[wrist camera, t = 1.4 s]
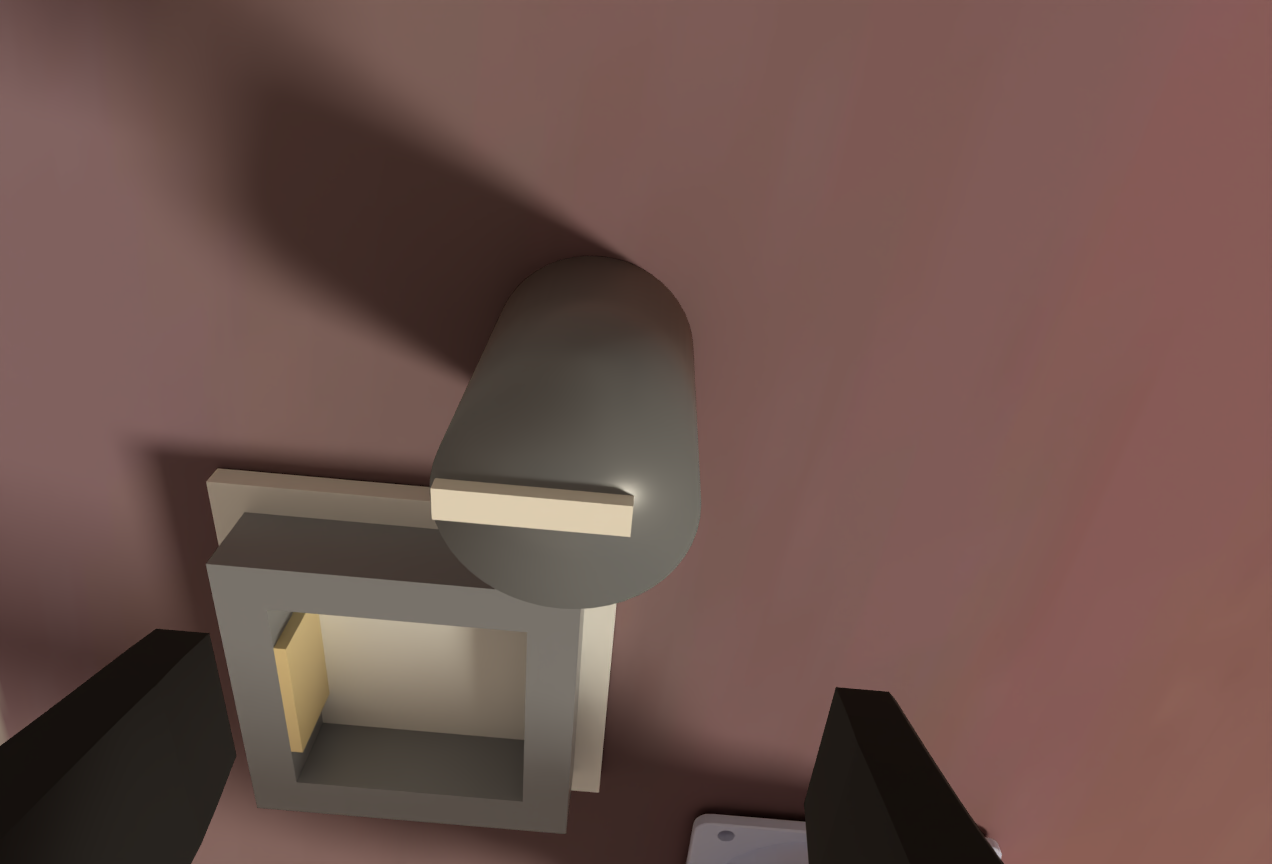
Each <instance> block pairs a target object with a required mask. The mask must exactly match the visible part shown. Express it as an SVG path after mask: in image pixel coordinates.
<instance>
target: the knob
mask: <svg viewBox="0 0 1272 864" xmlns="http://www.w3.org/2000/svg"><path fill="white" fill-rule="evenodd" d="M430 501H431V512H432V520H435V522H436V525H437V527H438V529H439V531H440V534H441V536H442V538H443V539H444V541H445V542H446V544H447V546H448V547H449V549H450V550H451V551H452V553H453V554H454V555H455V556H456V558H457V559H458V560H459V561H460V562H461V563H462V564H463V565H464V566H465V567H466V568H467V569H468V570H469V571H470V572H471V573H473V574H474V575H475V576H477V577H478V578H479V579H481V580H482V581H483V582H485V583H486V584H488V585H490V586H491V587H493V588H495V589H496V590H498V591H500V592H502V593H505V594H507V595H509V596H511V597H513V598H516V599H519V600H522V601H525V602H528V603H532V604H536V605H540V606H545V607H552V608H559V609H587V608H596V607H602V606H608V605H612V604H615V603H619V602H623V601H625V600H628V599H630V598H633V597H635V596H638V595H640V594H642V593H643V592H645V591H647V590H649V589H651V588H652V587H654V586H655V585H656V584H658V583H659V582H661V581H662V580H663V579H665V578H666V577H667V576H668V575H669V574H670V573H671V572H672V571H673V570H674V569H675V568H676V567H677V566H678V564H679V563H680V562H681V561H682V559H683V558H684V557H685V555H686V553H687V552H688V550H689V548H690V546H691V545H692V542H693V540H694V537H695V535H696V532H697V529H698V524H699V520H700V511H701V491H700V471H699V451H698V431H697V411H696V391H695V371H694V351H693V339H692V333H691V329H690V325H689V322H688V320H687V317H686V315H685V312H684V311H683V309H682V307H681V305H680V304H679V302H678V301H677V299H676V298H675V297H674V295H673V294H672V293H671V291H670V290H669V289H668V288H667V287H666V286H665V285H664V284H663V283H662V282H660V281H659V280H658V279H657V278H655V277H654V276H653V275H651V274H650V273H648V272H646V271H645V270H643V269H641V268H640V267H637V266H635V265H633V264H630V263H628V262H625V261H621V260H618V259H614V258H608V257H602V256H580V257H572V258H568V259H563V260H559V261H557V262H554V263H552V264H549V265H547V266H545V267H543V268H541V269H539V270H537V271H536V272H534V273H533V274H532V275H530V276H529V277H528V278H526V279H525V280H524V281H523V282H522V283H521V284H520V285H519V286H518V287H517V288H516V289H515V291H514V292H513V293H512V295H511V296H510V297H509V299H508V301H507V303H506V304H505V306H504V308H503V310H502V312H501V314H500V317H499V319H498V321H497V323H496V325H495V327H494V330H493V332H492V334H491V336H490V338H489V340H488V343H487V345H486V347H485V349H484V351H483V353H482V356H481V358H480V360H479V362H478V364H477V366H476V369H475V371H474V373H473V375H472V377H471V379H470V382H469V384H468V386H467V388H466V390H465V392H464V395H463V397H462V399H461V401H460V403H459V405H458V408H457V410H456V412H455V414H454V416H453V418H452V421H451V423H450V425H449V427H448V429H447V431H446V434H445V436H444V438H443V440H442V442H441V444H440V447H439V449H438V451H437V454H436V457H435V459H434V462H433V466H432V471H431V476H430Z"/></svg>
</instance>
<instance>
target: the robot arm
mask: <svg viewBox="0 0 1272 864" xmlns="http://www.w3.org/2000/svg"><path fill="white" fill-rule="evenodd" d="M235 758H236V751H235V747H234V742H233V738H232V733H231V729H230V724H229V720H228V715H227V711H226V706H225V702H224V697H223V693H222V688H221V684H220V679H219V675H218V670H217V666H216V661H215V657H214V652H213V648H212V643H211V639H210V634H209V633H199V632H187V631H176V630H164V629H155V630H154V631H153V632H151V633H150V634H148V635H147V636H146V637H144V638H143V639H142V640H140V641H139V642H137V643H136V644H135V645H133V646H132V647H131V648H129V649H128V650H127V651H125V652H124V653H123V654H121V655H120V656H119V657H117V658H116V659H115V660H113V661H112V662H111V663H110V664H108V665H107V666H106V667H104V668H103V669H102V670H100V671H99V672H98V673H96V674H95V675H94V676H92V677H91V678H90V679H89V680H87V681H86V682H85V683H83V684H82V685H81V686H79V687H78V688H77V689H75V690H74V691H73V692H72V693H70V694H69V695H68V696H66V697H65V698H64V699H62V700H61V701H60V702H58V703H57V704H56V705H54V706H53V707H52V708H50V709H49V710H48V711H47V712H45V713H44V714H43V715H41V716H40V717H39V718H37V719H36V720H35V721H33V722H32V723H30V724H29V725H28V726H26V727H25V728H24V729H22V730H21V731H20V732H18V733H17V734H16V735H14V736H13V737H12V738H10V739H9V740H8V741H6V742H5V743H4V744H2V745H1V746H0V864H191V863H192V861H193V859H194V857H195V855H196V853H197V851H198V849H199V847H200V845H201V843H202V841H203V838H204V836H205V834H206V831H207V829H208V826H209V824H210V822H211V819H212V817H213V814H214V812H215V809H216V807H217V805H218V802H219V799H220V797H221V794H222V792H223V789H224V786H225V784H226V781H227V779H228V776H229V773H230V771H231V768H232V765H233V763H234V760H235ZM804 809H805V822H803V821H791V820H780V819H768V818H756V817H745V816H733V815H721V814H704V815H700V816H699V817H698V818H696V819H695V821H694V823H693V828H692V833H691V839H690V845H689V850H688V856H687V861H686V864H1004V863H1003V862H1002V860H1001V855H1002V854H1001V851H1000V848H999V845H998V843H997V842H996V841H995V840H993V839H991V838H987V837H985V836H984V835H983V833H982V832H981V831H980V829H979V828H978V826H977V825H976V823H975V822H974V820H973V819H972V817H971V816H970V815H969V813H968V812H967V810H966V809H965V807H964V806H963V804H962V803H961V801H960V800H959V798H958V797H957V795H956V794H955V792H954V791H953V789H952V788H951V786H950V785H949V783H948V782H947V780H946V778H945V777H944V775H943V774H942V772H941V771H940V769H939V768H938V766H937V765H936V763H935V762H934V760H933V758H932V757H931V755H930V754H929V752H928V751H927V749H926V748H925V746H924V744H923V743H922V741H921V740H920V738H919V737H918V735H917V733H916V732H915V730H914V729H913V727H912V725H911V724H910V722H909V721H908V719H907V717H906V716H905V714H904V713H903V711H902V709H901V708H900V706H899V705H898V703H897V701H896V700H895V699H894V698H893V696H892V695H891V694H890V693H889V692H884V691H873V690H861V689H849V688H838V687H836V689H835V693H834V696H833V700H832V704H831V707H830V711H829V715H828V718H827V722H826V725H825V729H824V733H823V736H822V740H821V744H820V747H819V751H818V755H817V758H816V762H815V766H814V769H813V773H812V777H811V780H810V784H809V787H808V791H807V795H806V798H805V802H804Z"/></svg>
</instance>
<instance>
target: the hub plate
mask: <svg viewBox="0 0 1272 864" xmlns="http://www.w3.org/2000/svg"><path fill="white" fill-rule="evenodd" d="M206 484H207V489H208V494H209V499H210V504H211V509H212V514H213V519H214V524H215V529H216V534H217V539H218V544H219V547H218V548H217V550H216V551H215V552H214V554H213V555H212V556H211V558H210V559H209V560H208V562H207V563H206V567H207V572H208V577H209V582H210V586H211V591H212V596H213V601H214V605H215V610H216V615H217V619H218V624H219V629H220V634H221V638H222V643H223V648H224V653H225V657H226V662H227V667H228V671H229V676H230V681H231V686H232V690H233V695H234V700H235V705H236V709H237V714H238V719H239V723H240V728H241V733H242V738H243V742H244V747H245V752H246V757H247V761H248V766H249V771H250V775H251V780H252V785H253V790H254V794H255V799H256V804H257V808H266V809H277V810H289V811H301V812H313V813H324V814H336V815H348V816H359V817H371V818H383V819H395V820H406V821H418V822H430V823H442V824H453V825H465V826H477V827H489V828H500V829H512V830H524V831H535V832H547V833H559V834H566V830H567V821H568V813H569V804H570V796H571V790H573V791H585V792H596V793H599V786H600V775H601V765H602V754H603V743H604V732H605V721H606V710H607V700H608V689H609V678H610V667H611V656H612V645H613V635H614V624H615V613H616V603H615V604H612V605H608V606H602V607H596V608H587V609H559V608H552V607H545V606H540V605H536V604H532V603H528V602H525V601H522V600H519V599H516V598H513V597H511V596H509V595H507V594H505V593H502V592H500V591H498V590H496V589H495V588H493V587H491V586H490V585H488V584H486V583H485V582H483V581H482V580H481V579H479V578H478V577H477V576H475V575H474V574H473V573H471V572H470V571H469V570H468V569H467V568H466V567H465V566H464V565H463V564H462V563H461V562H460V561H459V560H458V559H457V558H456V556H455V555H454V554H453V553H452V551H451V550H450V549H449V547H448V546H447V544H446V542H445V541H444V539H443V538H442V536H441V534H440V531H439V529H438V527H437V525H436V522H435V520H432V512H431V501H430V487H422V486H411V485H400V484H389V483H377V482H366V481H355V480H344V479H332V478H321V477H310V476H299V475H287V474H276V473H265V472H254V471H242V470H231V469H220V468H217V470H216V471H215V472H214V473H213V474H212V475H211V477H210V478H209V479H208V480H207V481H206Z"/></svg>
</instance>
